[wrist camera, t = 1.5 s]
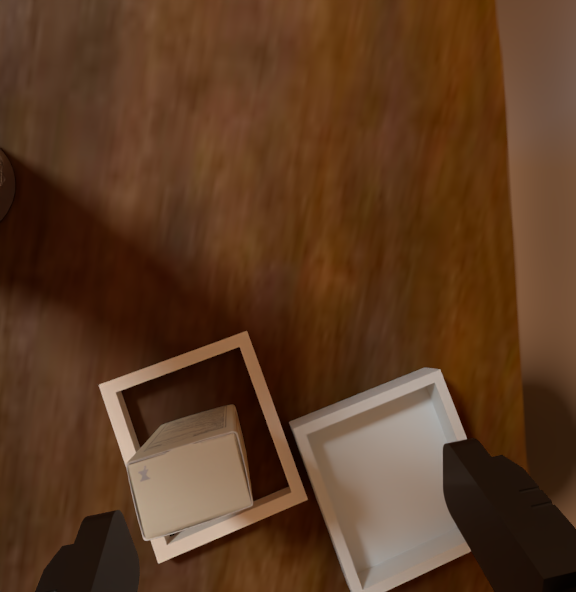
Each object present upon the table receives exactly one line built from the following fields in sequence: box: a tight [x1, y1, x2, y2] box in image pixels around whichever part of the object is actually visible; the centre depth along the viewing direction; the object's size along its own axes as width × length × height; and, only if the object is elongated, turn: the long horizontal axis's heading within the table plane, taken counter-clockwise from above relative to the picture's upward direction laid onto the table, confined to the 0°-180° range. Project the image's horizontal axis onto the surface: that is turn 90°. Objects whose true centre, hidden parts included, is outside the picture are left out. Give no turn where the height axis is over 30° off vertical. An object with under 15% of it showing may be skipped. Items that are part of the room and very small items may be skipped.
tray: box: [289, 368, 471, 592], centre depth 35 cm, size 13×14×3 cm
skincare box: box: [126, 404, 253, 541], centre depth 30 cm, size 6×4×12 cm
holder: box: [99, 331, 308, 564], centre depth 35 cm, size 12×14×2 cm
